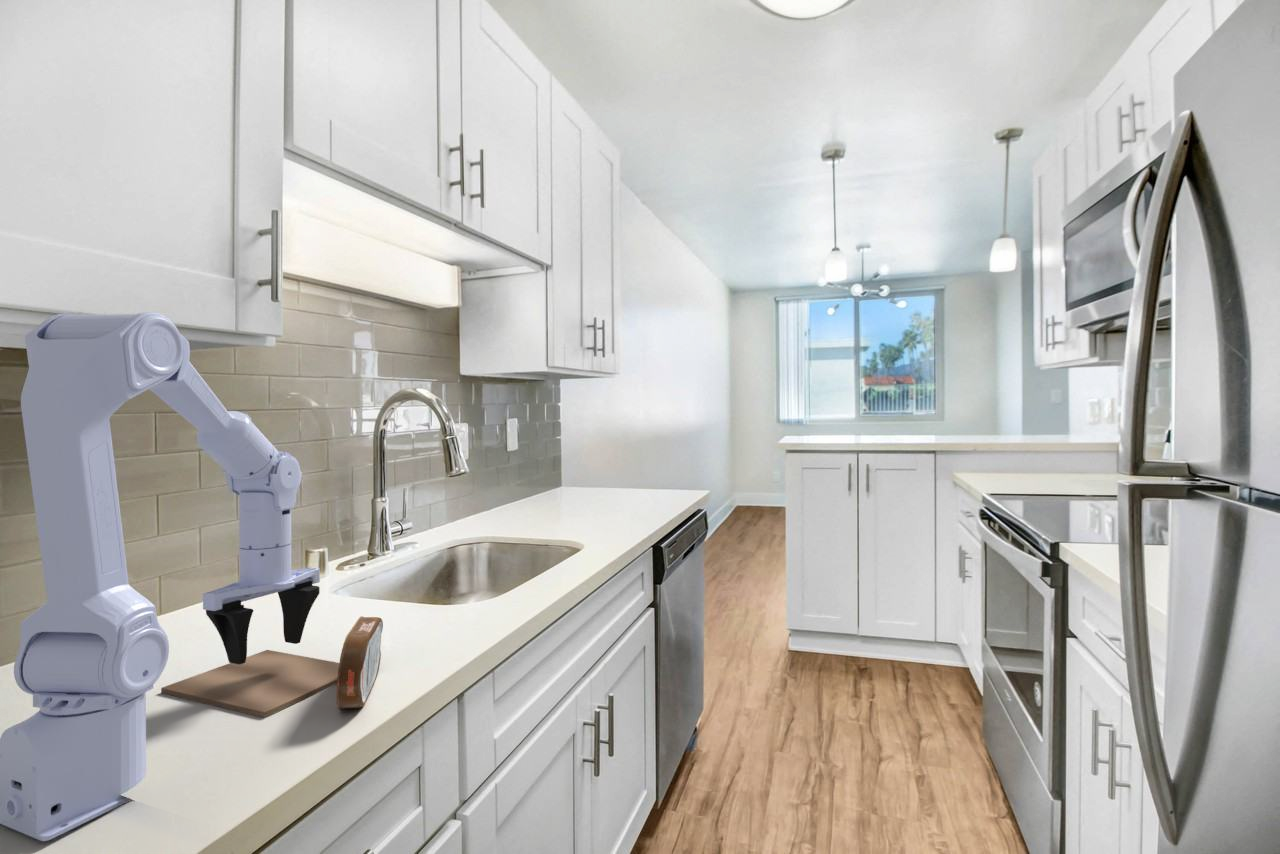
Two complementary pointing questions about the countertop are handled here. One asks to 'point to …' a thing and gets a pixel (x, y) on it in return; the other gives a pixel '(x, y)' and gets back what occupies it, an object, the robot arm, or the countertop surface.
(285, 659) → the board
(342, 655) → the tin
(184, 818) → the countertop surface
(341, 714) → the countertop surface
